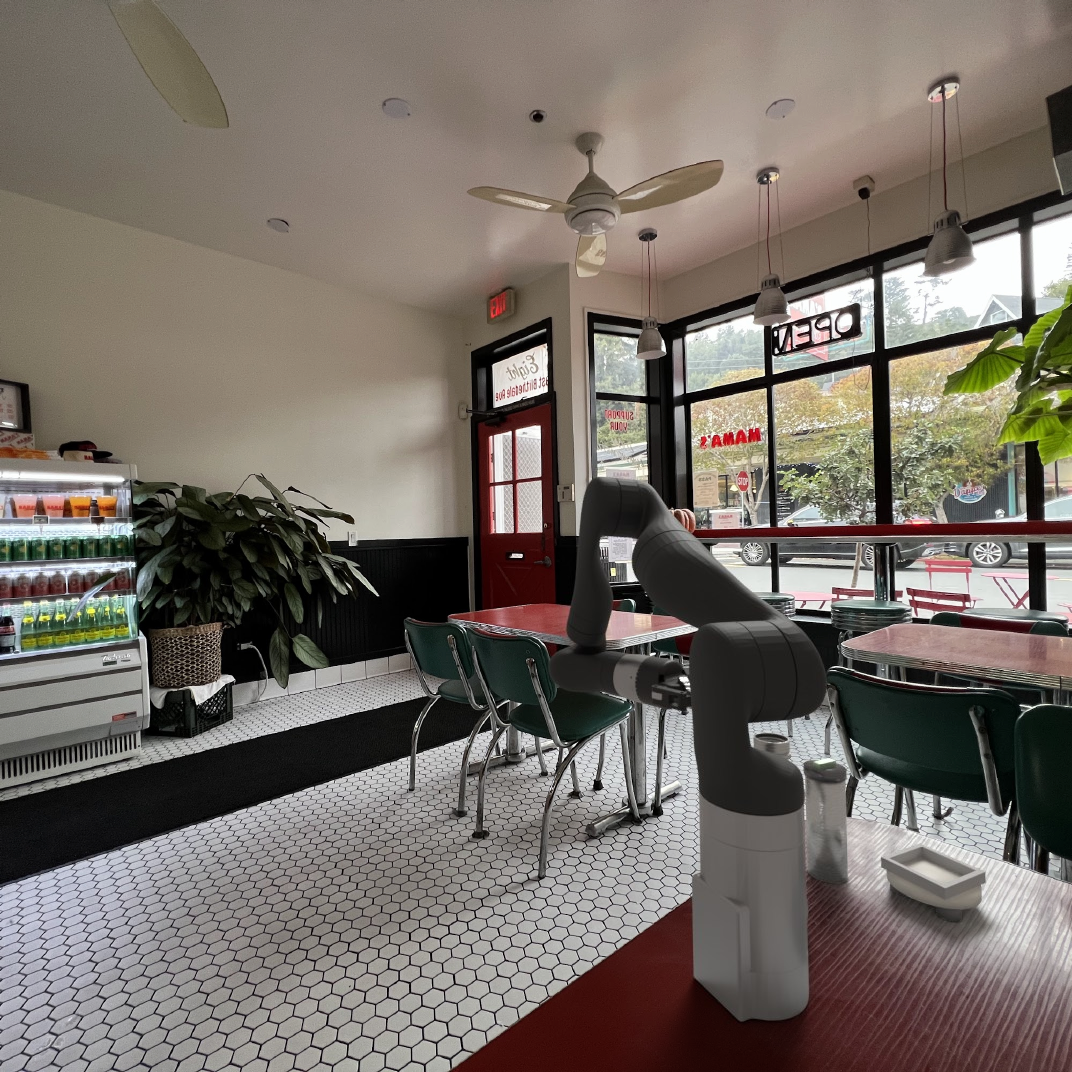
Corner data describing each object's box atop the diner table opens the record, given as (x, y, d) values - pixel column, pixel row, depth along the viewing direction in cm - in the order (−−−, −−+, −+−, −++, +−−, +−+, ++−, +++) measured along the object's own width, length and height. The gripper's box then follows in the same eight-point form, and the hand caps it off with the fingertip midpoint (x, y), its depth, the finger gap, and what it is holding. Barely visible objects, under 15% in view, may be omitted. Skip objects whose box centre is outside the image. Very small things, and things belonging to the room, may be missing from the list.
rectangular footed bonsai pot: (950, 933, 62) (949, 894, 62) (869, 888, 70) (868, 855, 70) (1000, 909, 66) (999, 873, 66) (918, 870, 74) (917, 838, 74)
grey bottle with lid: (830, 888, 70) (827, 770, 71) (797, 868, 75) (794, 758, 75) (858, 878, 72) (855, 764, 73) (824, 859, 77) (821, 752, 77)
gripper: (618, 662, 90) (711, 680, 78) (676, 650, 100) (767, 665, 87) (619, 712, 90) (712, 738, 78) (676, 695, 100) (768, 717, 87)
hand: (741, 699), depth 83 cm, fingers open, 8 cm apart
